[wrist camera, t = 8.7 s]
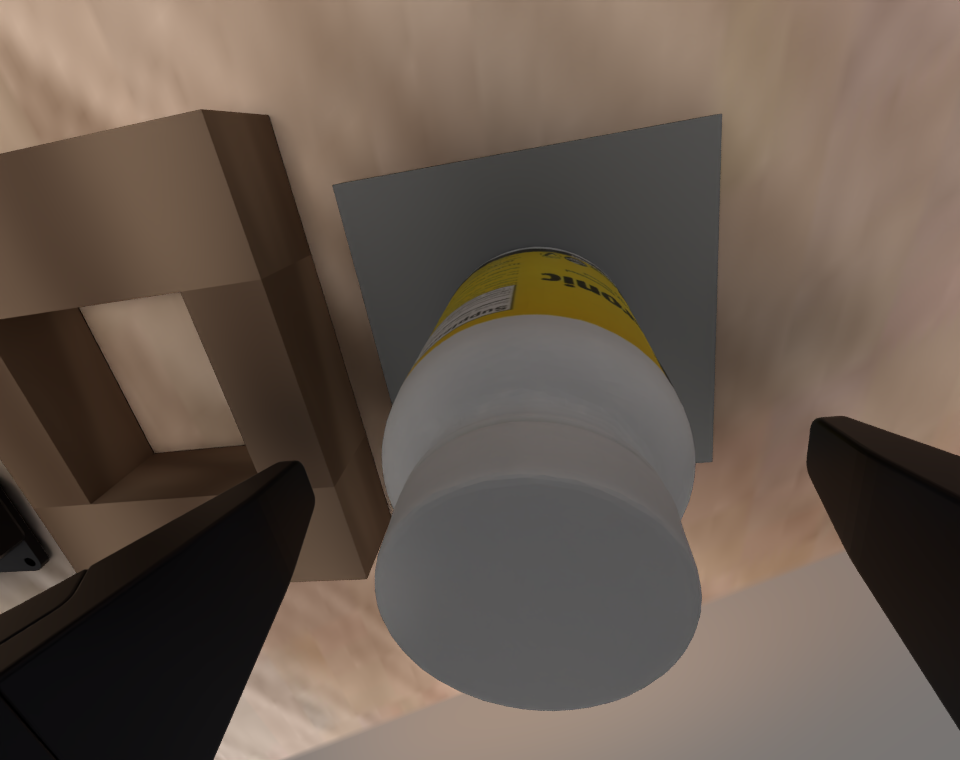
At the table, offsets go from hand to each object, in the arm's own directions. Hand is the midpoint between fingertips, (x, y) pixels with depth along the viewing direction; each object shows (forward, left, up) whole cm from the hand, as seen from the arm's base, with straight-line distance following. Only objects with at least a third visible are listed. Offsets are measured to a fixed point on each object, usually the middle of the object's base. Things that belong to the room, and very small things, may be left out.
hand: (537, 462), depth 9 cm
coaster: (0, 0, -7) cm, 7 cm away
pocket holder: (-12, 0, -7) cm, 14 cm away
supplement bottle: (0, 0, -7) cm, 7 cm away
